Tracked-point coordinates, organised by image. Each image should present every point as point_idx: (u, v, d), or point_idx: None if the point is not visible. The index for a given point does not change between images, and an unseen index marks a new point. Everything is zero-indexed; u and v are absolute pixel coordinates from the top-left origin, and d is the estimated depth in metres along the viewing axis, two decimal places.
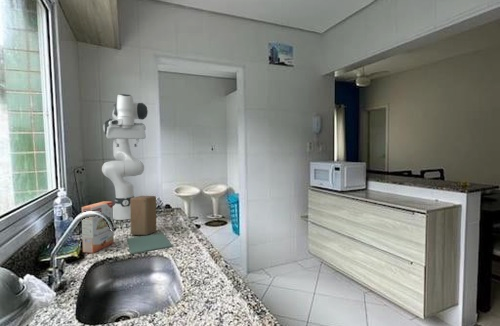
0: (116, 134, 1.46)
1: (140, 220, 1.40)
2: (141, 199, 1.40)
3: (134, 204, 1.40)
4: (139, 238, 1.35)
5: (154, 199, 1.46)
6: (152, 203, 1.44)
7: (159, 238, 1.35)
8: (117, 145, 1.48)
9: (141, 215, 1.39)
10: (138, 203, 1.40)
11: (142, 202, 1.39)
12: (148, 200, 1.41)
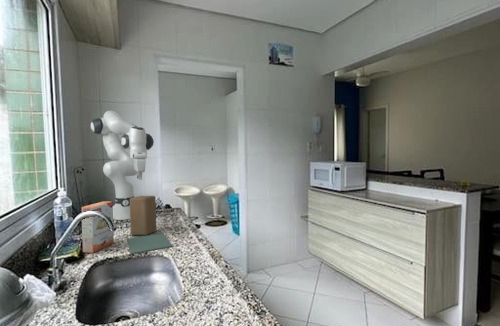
0: None
1: (140, 220, 1.39)
2: (140, 199, 1.39)
3: (134, 205, 1.40)
4: (139, 238, 1.35)
5: (153, 199, 1.46)
6: (151, 203, 1.44)
7: (159, 238, 1.35)
8: (141, 178, 1.50)
9: (141, 215, 1.39)
10: (137, 203, 1.40)
11: (141, 203, 1.39)
12: (147, 200, 1.41)
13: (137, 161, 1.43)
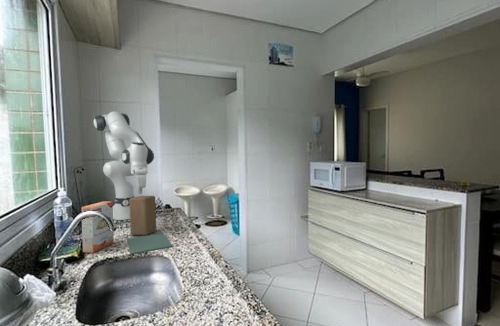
0: None
1: (140, 220, 1.39)
2: (140, 199, 1.39)
3: (134, 205, 1.40)
4: (139, 238, 1.35)
5: (153, 199, 1.46)
6: (151, 203, 1.44)
7: (159, 238, 1.35)
8: None
9: (140, 215, 1.39)
10: (137, 203, 1.40)
11: (141, 203, 1.39)
12: (147, 200, 1.41)
13: (138, 177, 1.44)
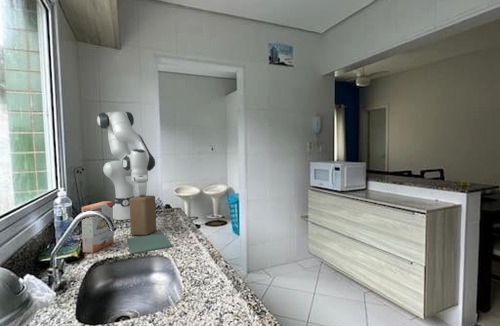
0: None
1: (140, 220, 1.39)
2: (140, 199, 1.39)
3: (134, 205, 1.40)
4: (139, 238, 1.35)
5: (153, 199, 1.46)
6: (151, 203, 1.44)
7: (159, 238, 1.35)
8: None
9: (140, 215, 1.39)
10: (137, 203, 1.39)
11: (141, 203, 1.39)
12: (147, 200, 1.40)
13: (138, 185, 1.43)
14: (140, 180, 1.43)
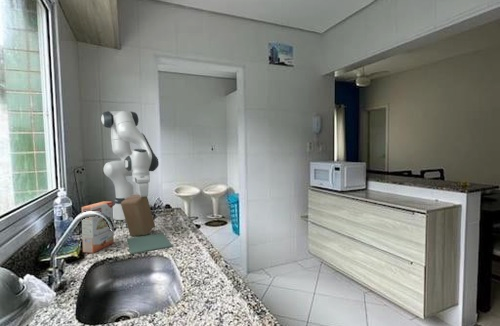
0: None
1: (137, 222, 1.37)
2: (132, 203, 1.34)
3: (126, 208, 1.35)
4: (139, 238, 1.35)
5: (145, 198, 1.41)
6: (144, 203, 1.39)
7: (159, 238, 1.35)
8: None
9: (136, 218, 1.36)
10: (130, 207, 1.35)
11: (134, 206, 1.34)
12: (139, 202, 1.35)
13: (140, 186, 1.38)
14: (141, 181, 1.38)
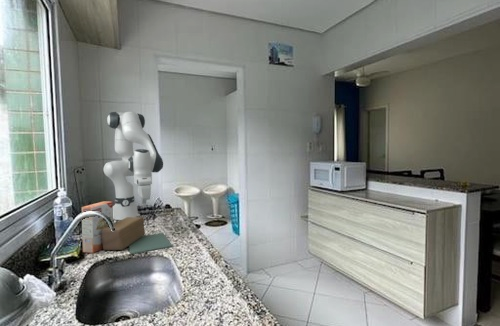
0: None
1: None
2: (117, 249, 1.21)
3: None
4: (139, 238, 1.35)
5: (123, 232, 1.21)
6: (126, 236, 1.23)
7: (159, 238, 1.35)
8: (145, 204, 1.40)
9: None
10: None
11: None
12: (124, 245, 1.21)
13: (142, 188, 1.31)
14: (144, 183, 1.32)
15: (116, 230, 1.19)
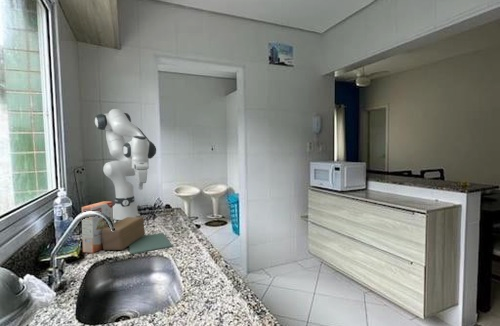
0: None
1: None
2: (117, 249, 1.21)
3: None
4: (139, 238, 1.35)
5: (123, 232, 1.21)
6: (126, 236, 1.23)
7: (159, 238, 1.35)
8: None
9: None
10: None
11: None
12: (124, 245, 1.21)
13: (139, 172, 1.40)
14: (140, 167, 1.41)
15: (116, 230, 1.19)
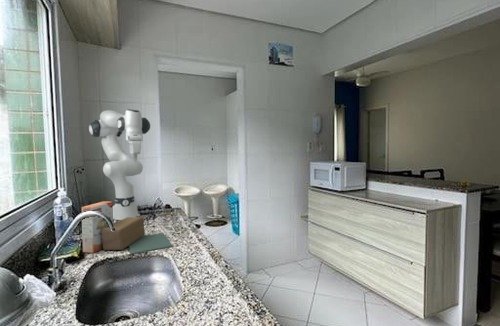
0: None
1: None
2: (117, 249, 1.21)
3: None
4: (139, 238, 1.35)
5: (123, 232, 1.21)
6: (126, 236, 1.23)
7: (159, 238, 1.35)
8: (136, 160, 1.52)
9: None
10: None
11: None
12: (124, 245, 1.21)
13: (132, 143, 1.43)
14: (134, 138, 1.44)
15: (116, 230, 1.19)
